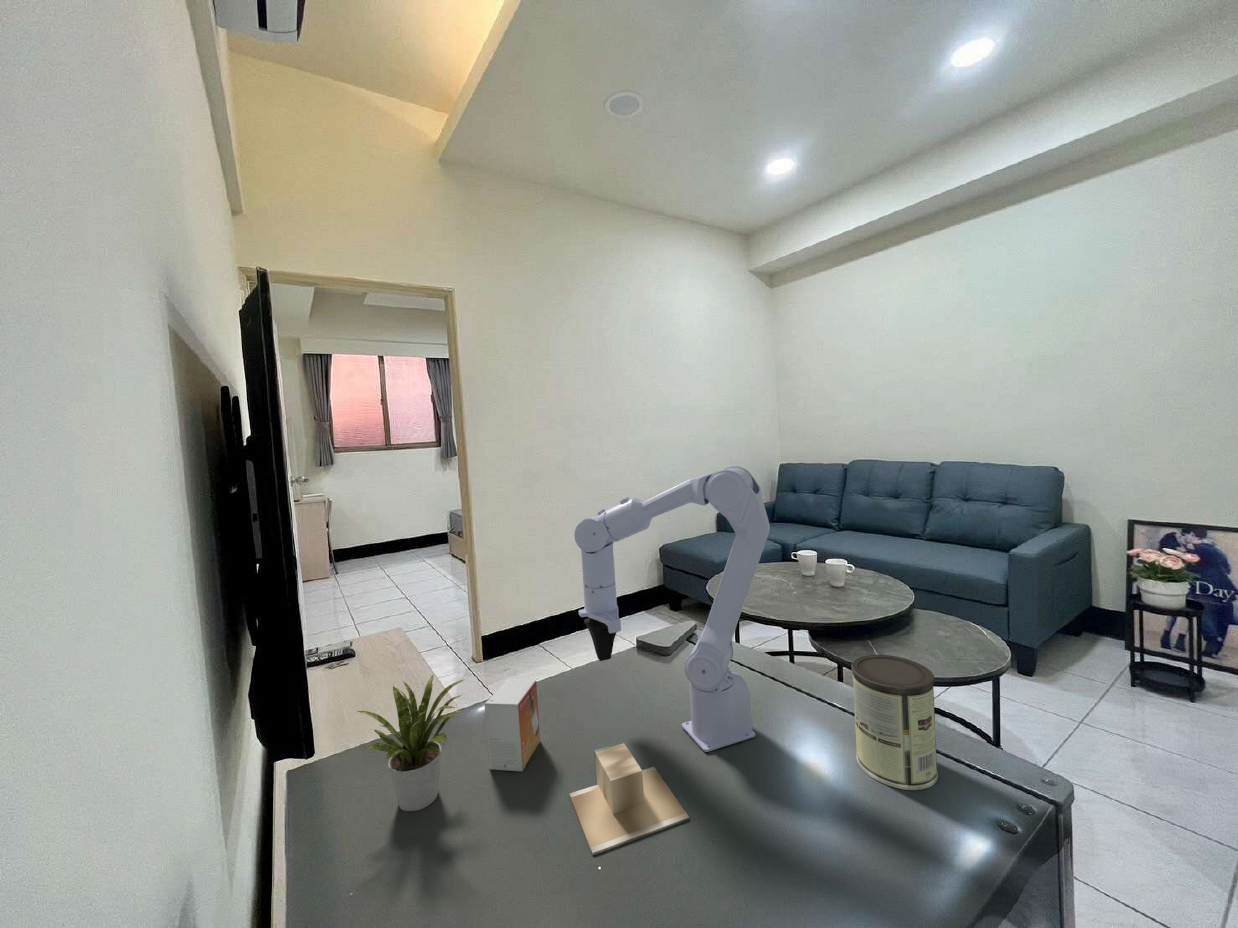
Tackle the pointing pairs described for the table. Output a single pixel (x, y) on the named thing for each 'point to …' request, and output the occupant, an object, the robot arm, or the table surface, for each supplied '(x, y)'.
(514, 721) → the small box
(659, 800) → the tan flat rectangular panel
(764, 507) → the robot arm
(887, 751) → the coffee can
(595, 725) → the table surface
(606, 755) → the beech block
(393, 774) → the house plant
